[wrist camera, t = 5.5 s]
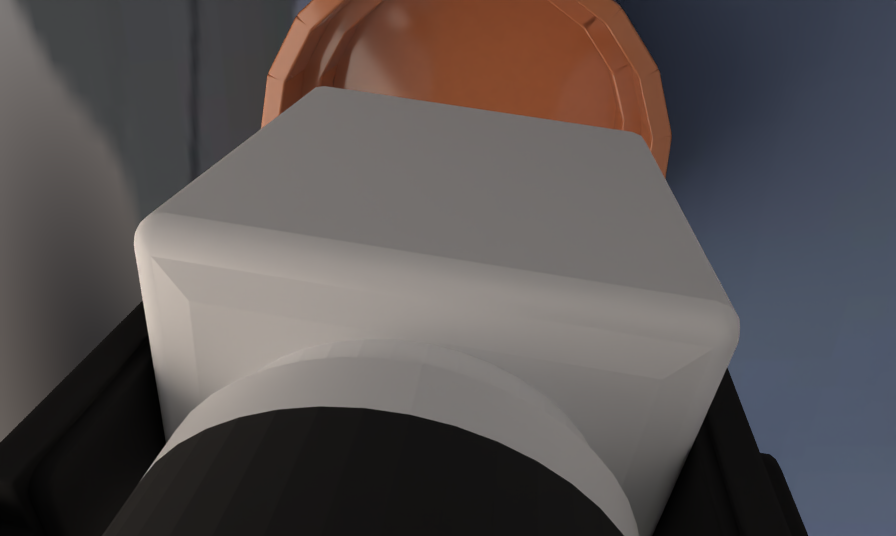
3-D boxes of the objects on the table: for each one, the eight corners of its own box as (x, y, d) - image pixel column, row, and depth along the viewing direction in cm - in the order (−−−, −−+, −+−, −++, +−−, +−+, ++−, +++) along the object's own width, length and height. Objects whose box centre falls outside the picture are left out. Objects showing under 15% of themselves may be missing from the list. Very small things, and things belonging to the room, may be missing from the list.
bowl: (418, -161, 19) (390, -178, 15) (725, 84, 22) (766, 122, 18) (252, 159, 26) (202, 203, 22) (505, 320, 28) (501, 385, 24)
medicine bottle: (312, 79, 13) (-557, 703, 3) (648, 129, 13) (1188, 1064, 2) (311, 346, 17) (-58, 1057, 6) (573, 389, 16) (650, 1216, 6)
